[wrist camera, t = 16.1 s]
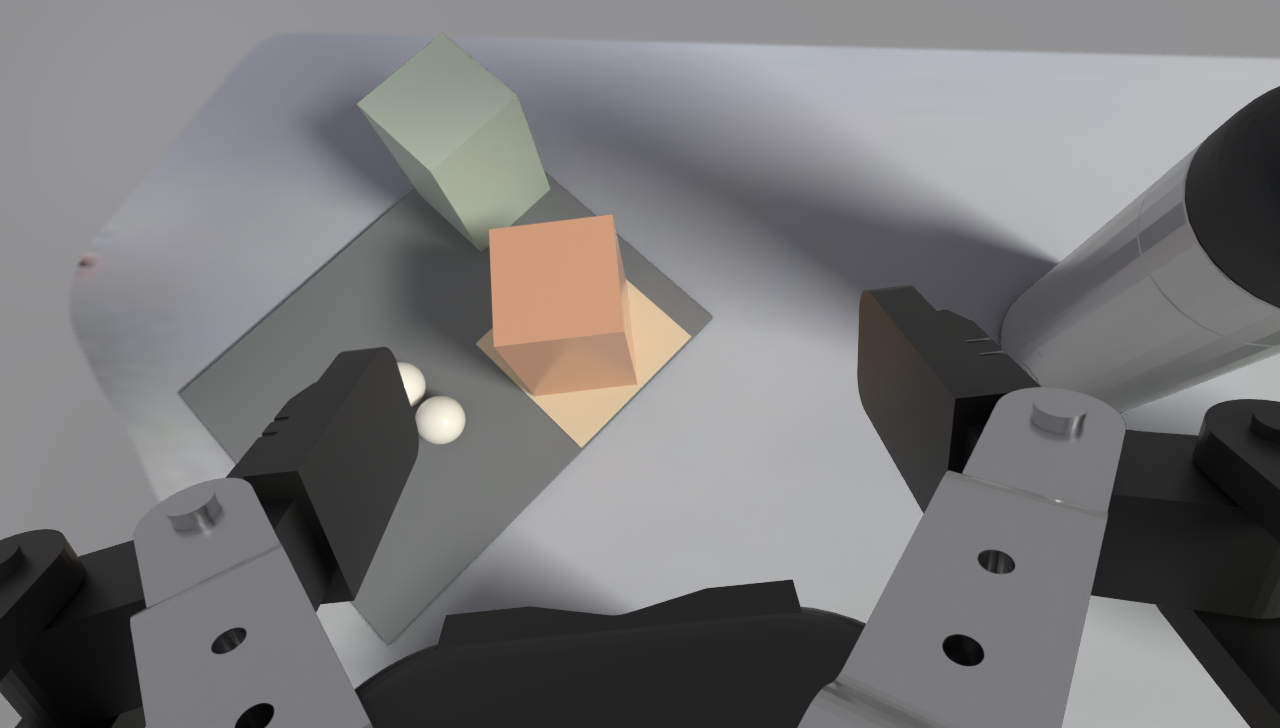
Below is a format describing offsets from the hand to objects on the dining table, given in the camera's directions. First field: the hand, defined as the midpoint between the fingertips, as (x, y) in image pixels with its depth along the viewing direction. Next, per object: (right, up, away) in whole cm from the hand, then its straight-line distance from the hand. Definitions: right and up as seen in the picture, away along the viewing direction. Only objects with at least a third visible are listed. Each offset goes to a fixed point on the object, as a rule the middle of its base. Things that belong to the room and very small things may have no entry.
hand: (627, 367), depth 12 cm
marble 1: (-15, -2, +33) cm, 36 cm away
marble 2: (-12, -4, +33) cm, 35 cm away
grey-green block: (-11, +12, +37) cm, 41 cm away
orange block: (-4, +2, +33) cm, 34 cm away
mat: (-13, 0, +35) cm, 37 cm away
